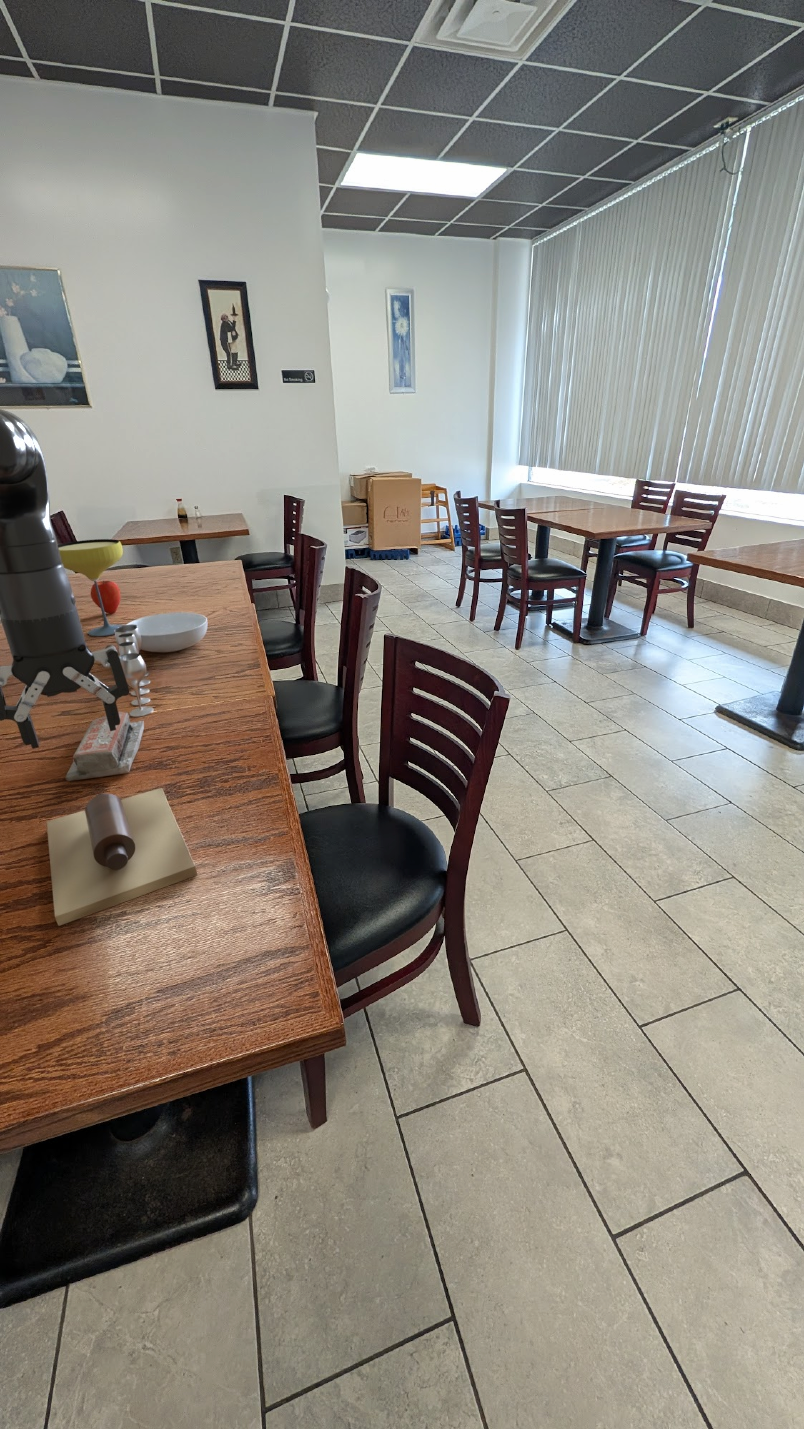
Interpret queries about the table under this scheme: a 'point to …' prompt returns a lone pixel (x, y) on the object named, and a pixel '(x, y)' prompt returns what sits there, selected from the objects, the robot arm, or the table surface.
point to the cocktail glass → (92, 567)
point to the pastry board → (100, 887)
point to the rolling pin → (109, 831)
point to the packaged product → (106, 749)
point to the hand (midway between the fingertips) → (75, 737)
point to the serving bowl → (170, 631)
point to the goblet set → (133, 666)
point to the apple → (107, 595)
